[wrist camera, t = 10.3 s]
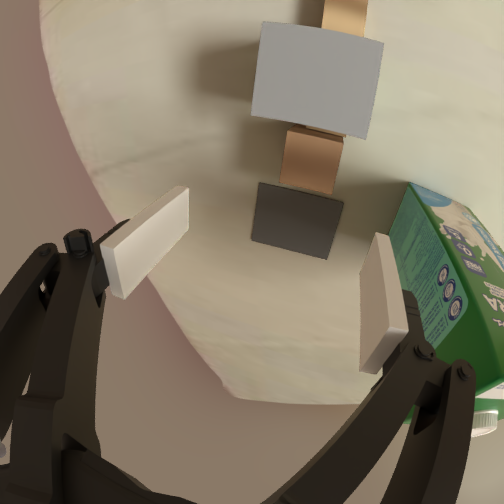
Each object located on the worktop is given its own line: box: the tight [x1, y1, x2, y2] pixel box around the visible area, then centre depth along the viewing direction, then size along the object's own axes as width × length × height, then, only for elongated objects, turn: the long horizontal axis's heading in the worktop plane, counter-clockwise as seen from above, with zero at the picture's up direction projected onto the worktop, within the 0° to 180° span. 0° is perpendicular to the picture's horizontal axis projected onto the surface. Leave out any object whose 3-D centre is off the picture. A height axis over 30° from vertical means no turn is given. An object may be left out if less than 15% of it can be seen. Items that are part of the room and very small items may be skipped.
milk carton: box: [388, 182, 504, 437], centre depth 19 cm, size 9×9×25 cm
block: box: [279, 123, 344, 195], centre depth 26 cm, size 5×5×6 cm
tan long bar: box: [306, 0, 368, 137], centre depth 22 cm, size 16×4×3 cm, turn 173°
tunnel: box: [251, 22, 384, 140], centre depth 21 cm, size 8×9×9 cm
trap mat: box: [252, 183, 344, 260], centre depth 34 cm, size 8×10×1 cm
